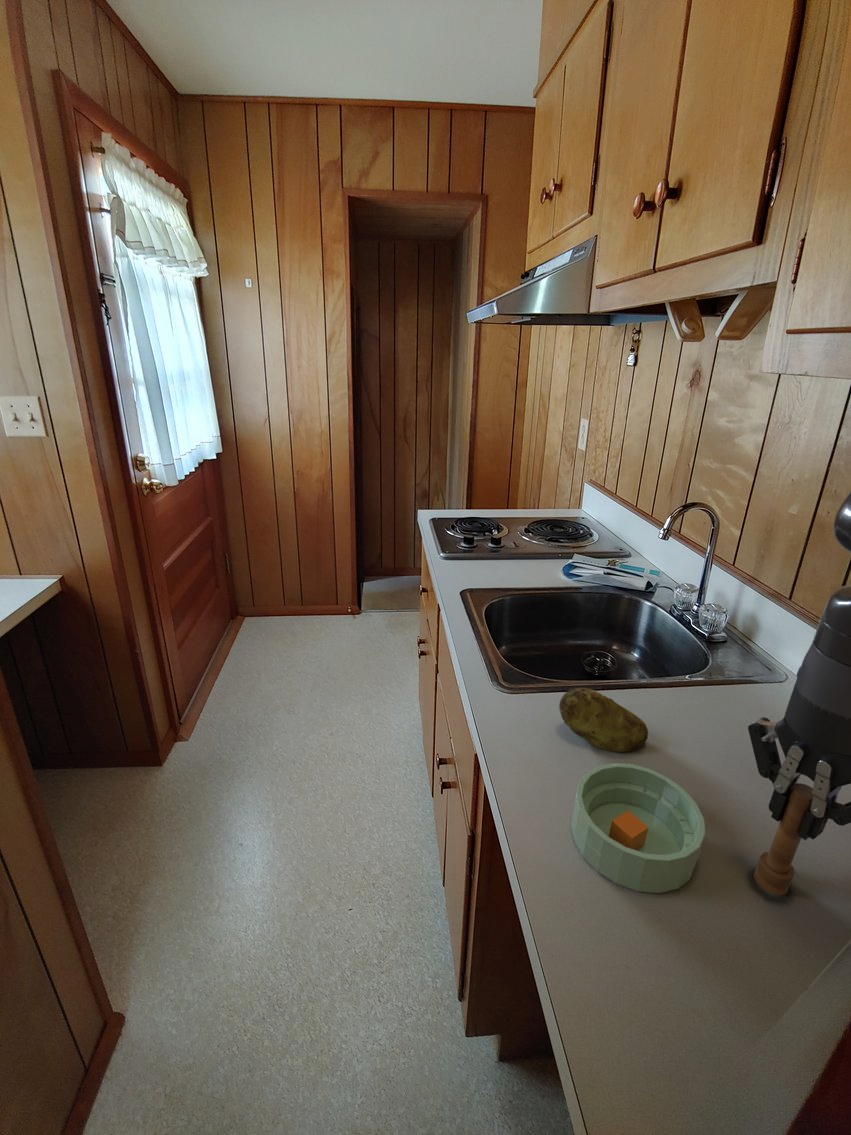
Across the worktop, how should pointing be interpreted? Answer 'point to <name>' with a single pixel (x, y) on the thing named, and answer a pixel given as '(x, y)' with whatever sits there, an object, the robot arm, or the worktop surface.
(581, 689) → the potato
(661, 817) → the bowl
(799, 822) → the wooden flanged peg
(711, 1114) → the worktop surface
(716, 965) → the worktop surface
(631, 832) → the carrot cube
